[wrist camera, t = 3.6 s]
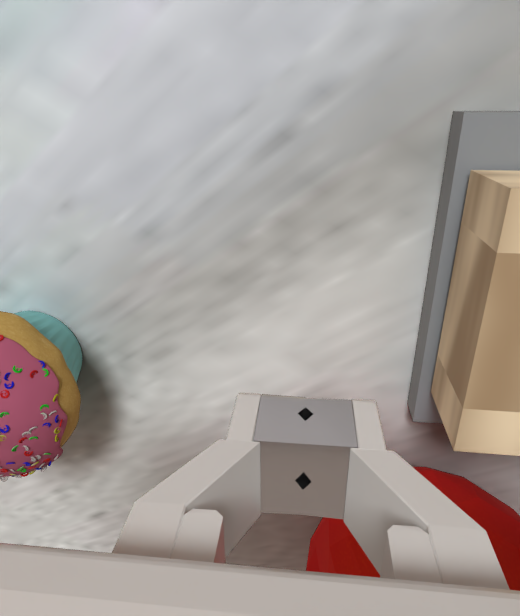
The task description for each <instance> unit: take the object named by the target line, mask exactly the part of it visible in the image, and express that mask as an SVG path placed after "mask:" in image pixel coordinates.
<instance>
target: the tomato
mask: <svg viewBox="0 0 520 616" xmlns="http://www.w3.org/2000/svg"><path fill="white" fill-rule="evenodd" d="M413 468H414V469H415V470H417V471H418V472H419V473H420V474H421V475H422V476H424V477H425V478H426V479H427V480H428V481H429V482H430V483H432V484H433V485H434V486H435V487H436V488H437V489H438V490H440V491H441V492H442V493H443V494H444V495H445V496H447V497H448V498H449V499H450V500H451V501H452V502H453V503H455V504H456V505H457V506H458V507H459V508H460V509H461V510H463V511H464V512H465V513H466V514H467V515H468V516H470V517H471V518H472V519H473V520H474V521H475V522H476V523H478V524H479V525H480V526H481V527H482V528H483V529H484V530H486V532H487V535H488V537H489V539H490V542H491V544H492V547H493V549H494V552H495V554H496V557H497V559H498V562H499V564H500V567H501V569H502V572H503V574H504V576H505V579H506V581H507V584H508V586H509V589H510V590H516V591H520V516H519V515H518V514H517V513H516V512H515V511H514V510H513V509H512V508H510V507H509V506H507V505H506V504H504V503H503V502H501V501H500V500H498V499H497V498H495V497H494V496H492V495H490V494H489V493H487V492H486V491H484V490H483V489H481V488H480V487H478V486H476V485H475V484H473V483H472V482H470V481H469V480H467V479H466V478H464V477H461V476H457V475H454V474H450V473H446V472H442V471H438V470H435V469H431V468H427V467H413ZM306 571H313V572H324V573H335V574H346V575H357V576H368V577H378V578H380V574H379V573H378V571H377V570H376V568H375V567H374V566H373V564H372V563H371V561H370V560H369V558H368V557H367V555H366V554H365V552H364V551H363V549H362V548H361V546H360V545H359V543H358V542H357V541H356V539H355V538H354V536H353V535H352V533H351V532H350V530H349V529H348V527H347V526H346V524H345V523H344V519H335V518H326V517H323V518H322V520H321V522H320V524H319V525H318V527H317V529H316V531H315V532H314V534H313V536H312V538H311V541H310V547H309V554H308V560H307V567H306Z"/></svg>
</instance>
